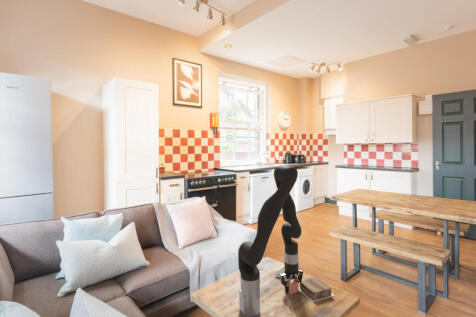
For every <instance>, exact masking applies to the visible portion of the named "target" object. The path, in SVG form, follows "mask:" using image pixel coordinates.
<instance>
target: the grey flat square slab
mask: <svg viewBox="0 0 476 317" xmlns="http://www.w3.org/2000/svg"><path fill="white" fill-rule="evenodd" d="M298 292H300V293H301V294H302V295H304V296H305V298H307V299H308V300H309V301H311V303H315V302H319V301H323V300H326V299H328V298H329V299H330V298H332V297H335V294H333V293H331V296H328V297H324V298H321V299H317V300H313V299H312V298H310V297H309V296H308V295H307V294H306V293H305V292H303V291H302V290H301V289H300V286H298Z"/></svg>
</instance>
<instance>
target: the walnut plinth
mask: <svg viewBox="0 0 476 317" xmlns="http://www.w3.org/2000/svg"><path fill="white" fill-rule="evenodd" d="M299 287H300V289H301V290H302V291H303V292H305V293H306V294H307V295H308V296H309V297H310V298H312V299H313V300H317V299H321V298H324V297H328V296H331V294H332V288H331V286H329V285H328V284H326V283H325V282H323V281H322V280H320V279H319V278H318V277H313V278H312V277H311V278H308V279H302V282H299Z"/></svg>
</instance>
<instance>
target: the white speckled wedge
mask: <svg viewBox="0 0 476 317" xmlns="http://www.w3.org/2000/svg"><path fill="white" fill-rule="evenodd" d="M284 272H285V268H284V264H283V265H282V266H280V267H279V268H278V269H277V268H276V269H274V270H273V275H274V276H275V277H276V278H279V277H280V276H279V275H280V274H284ZM285 277H286V276H285Z"/></svg>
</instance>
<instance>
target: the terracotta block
mask: <svg viewBox="0 0 476 317" xmlns="http://www.w3.org/2000/svg"><path fill="white" fill-rule="evenodd" d="M298 288H299V284H298V283H297V282H296V281H295V280H294V279H292V280H291V281H290V283H289V293H288V294H289V295H291V294H295V293H299V290H298Z"/></svg>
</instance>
